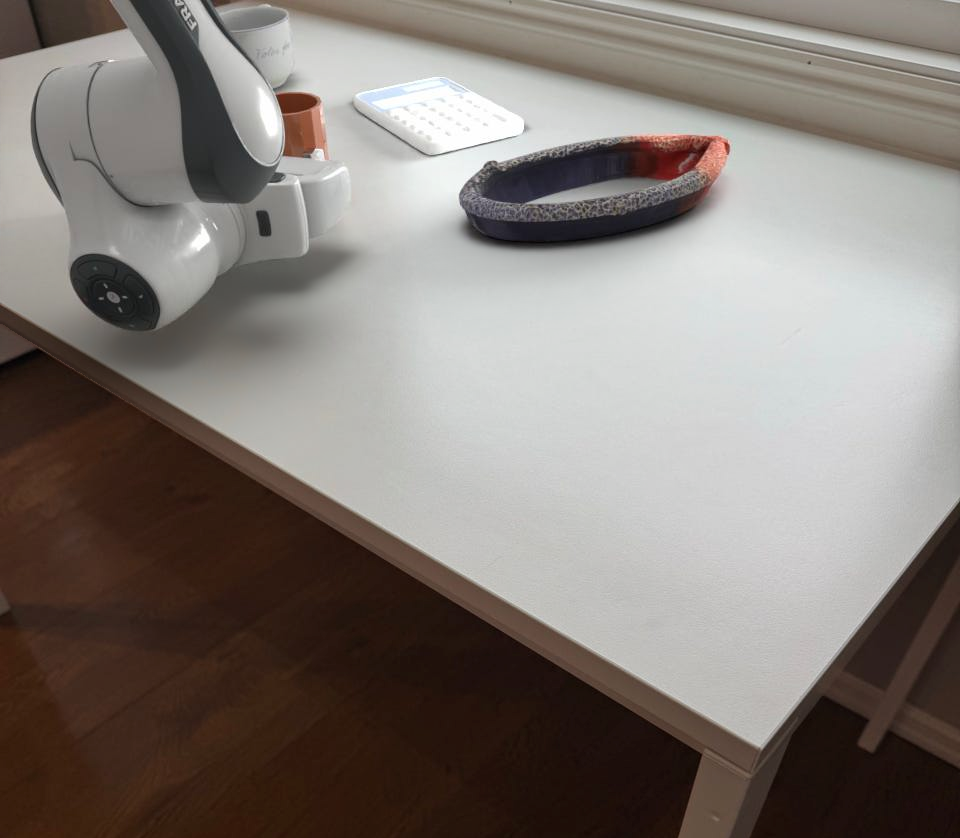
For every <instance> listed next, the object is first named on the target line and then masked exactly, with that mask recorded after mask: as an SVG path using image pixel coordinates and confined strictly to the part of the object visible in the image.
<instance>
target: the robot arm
mask: <svg viewBox="0 0 960 838" xmlns="http://www.w3.org/2000/svg"><path fill="white" fill-rule="evenodd" d="M109 2H110V3H111V5H112V6H113V7H114V9H115V11H116V12H117V13H118V15H119V16H120V18H121V20H122V21H123V23H124V24H125V25H126V27H127V28H128V30H129V31H130V32H131V34H132V36H133V37H134V38H135V40H136V42H137V44H138V45H139V46H140V48H141V49H142V51H143V52H144V54H145V56H138V57H130V58H124V59H108V60H101V61H95V62H87V63H81V64H75V65H71V66H67V67H57V68H54V69H52V70H50V71H49V72H48V73H47V74H46V75H45V76H44V77H43V79H42V80H41V82H40V84H39V85H38V86H37V90H36V92H35V95H34V97H33V101H32V105H31V112H30V139H31V146H32V150H33V153H34V156H35V159H36V161H37V164H38V166H39V168H40V172H41V173H42V175H43V178H44V180H45V182H46V183H47V185H48V186H49V188H50V191H51V192H52V194H53V195H54V196H55V198H56V199H57V200H58V202H59V204H60V205H61V206H62V209H64V212H65V216H66V217H65V218H66V220H67V224H68V231H69V251H68V252H69V253H68V260H67V272H68V273H67V274H68V276H69V277H68V278H69V282H70V285H71V286H72V289H73V290H74V292H75V295H76V296H77V297H78V299H79V300H80V302H81V303H82V305H84V306H85V307H86V309H88V310H89V311H90V312H91V313H92V314H93V315H95V317H97V318H99V319H101V320H102V321H103V322H105V323H107V324H109V325H111V326H113V327H116V328H118V329H121V330H124V331H128V332H129V331H130V332H137V333H138V332H140V333H146V332H147V333H148V332H153V331H157V330H160V329H161V328H163V327H166V326H167V325H169V324H171V323H172V322H174V321H176V320H177V319H179V318H180V317H182V316H183V315H184V314H185V313H187V312H188V311H189V310H190V309H191V308H192V307H194V306H195V305H196V304H197V303H198V302H199V301H200V300H201V299H202V298H203V297H204V296H205V295H206V294H207V293H208V292H209V291H210V290H211V288H212V287H213V285H214V283H215V282H216V279H217V277H221V275H223V274H225V273H226V272H227V271H229V270H230V269H231V268H232V267H242V266H245V265H247V264H253V263H256V262H261V261H269V260H272V261H273V260H280V259H296V258H300V257H303V256H305V255H306V254H307V253H308V251H309V249H310V239H314V238H317V237H319V236H321V235H323V234H324V233H326V232H327V231H328V230H330V228H332V226H334V225H335V224H336V223H337V222H338V221H339V220H340V219H341V217H343V215H344V214H345V212H347V210H348V209H349V207H350V205H351V202H352V189H351V178H350V173H349V169H348V167H347V166H346V164H344V162H342V161H341V160H332V159H329V160H325V158H324V151H323V149H316V148H307V149H306V151H304V152H303V153H302V157H303V158H300V157H289V156H282V155H283V151H284V144H285V131H284V123H283V118H282V113H281V110H280V106H279V103H278V101H277V98H276V96H275V93H276V92H275V91H274V89H272V87H271V85H270V84H269V82H268V80H267V79H266V77H265V76H264V74H263V73H262V71H261V70H260V69H259V67H258V66H257V65H256V63H255V62H254V61H253V60H252V58H251V57H250V56H249V55H248V53H247V52H246V51H245V50H244V49H243V47H242V46H241V45H240V44H239V42H238V41H237V40H236V39H235V37H234V36H233V35H232V34H231V32H230V31H229V30H228V28H227V27H226V25H225V24H224V22H223V21H222V19H221V18H220V16H219V13H218V11H217V10H216V8H215V6H214V4H213V3H212V1H211V0H109Z"/></svg>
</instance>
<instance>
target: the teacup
mask: <svg viewBox="0 0 960 838" xmlns="http://www.w3.org/2000/svg"><path fill="white" fill-rule="evenodd" d="M218 14H219V16H220V18H221V19H222V21H223V22H224V24H225V25H226V27H227V28H228V30H229V31H230V32H231V34H232V35H233V36H234V37H235V39H236V40H237V41H238V42H239V44H240V45H241V46H242V47H243V49H244V50H245V51H246V52H247V53H248V55H249V56H250V57H251V58H252V60H253V61H254V62H255V63H256V65H257V66H258V67H259V69H260V70H261V71H262V73H263V74H264V76H265V77H266V79H267V80H268V82H269V84H270V85H271V87H272V89H273V90H274V89H277V88H279V87H281V86H282V85H284V84H285V82H286V81H287V78H288V77H289V76H290V75H291V73H292V72H293V71H294V67H295V63H296V57H295V54H296V53H295V46H294V39H293V35H292V30H291V23H290V12H289V11H288V10H286V9H285V8H281V7H278V6H271V5H270V4H269V3H261V4H259V5H258V6H257V5H256V6H249V7H240V8H234V9H233V8H232V9H230V10H228V11H227V10H225V11H222V12H220V13H218Z"/></svg>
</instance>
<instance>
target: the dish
mask: <svg viewBox="0 0 960 838" xmlns="http://www.w3.org/2000/svg"><path fill="white" fill-rule="evenodd" d="M730 152H731V142H730V141H729V139H727V138H724V137H723V136H721V135H720V134H718V135H706V134H705V135H703V134H702V135H701V134H679V133H677V134H675V133H674V134H673V133H670V134H669V133H667V134H662V133H661V134H633V135H622V136H613V137H612V136H611V137H605V138H595V139H591V140H584V141H579V142H574V143H569V144H564V145H559V146H555V147H554V146H553V147H551V148H546V149H543V150H542V149H541V150H538V151H534V152H531V153H527V154H524V155H521V156H517V157H513V158H511V159H507V160H503V161H500V162H498V161H497V160H494V159H493V160H488V161H485V163H484V164H483V166H482V168H481V169H479V170H478V171H477V172H475V173H474V175H472V176H471V177H470V178H469V179H468V180H467V181H466V182H465V183H464V184H463V186H462V188H461V189H460V191H459V193H458V200H459V205H460V207H461V208H462V209H463V210H464V213H465V215H466V218H467V220H468V221H469V223H470V224H471V225H472V226H473V227H475V228H476V230H478V231H479V232H480V233H482V234H483V235H486V236H487V237H491V238H494V239H498V240H504V241H515V242H535V243H538V242H539V243H540V242H541V243H544V242H545V243H547V242H566V241H577V240H585V239H593V238H600V237H606V236H610V235H616V234H621V233H624V232H628V231H629V232H630V231H633V230H637V229H640V228H643V227H644V228H645V227H647V226H651V225H654V224H657V223H661V222H663V221H666V220H669V219H671V218H673V217H676V216H679V215H680V214H683V213H685V212H687V211H689V210H691V209H693V208H694V207H695V206H696V205H698V204H699V203H700V202H701V201H703V199H704V197H705V196H707V194H708V192H709V191H710V189H711V188H712V186H713V184H714V183H715V181H716V180H717V179H718V178H719V176H720V174H721V173H722V171H723V169H724V167H725V166H726V163H727V160H728V156H729V155H730ZM625 178H642V179H643V178H644V179H651V180H659V181H665V182H662V183H660V184H659V183H658V184H656V185H653V186H649V187H646V188H642V189H638V190H633V191H629V192H625V193H620V194H615V195H614V194H613V195H609V196H603V197H597V198H591V199H582V200H575V201H574V200H573V201H564V202H563V201H562V202H549V203H546V202H545V203H530V202H533V201H537V200H539V199H542V198H545V197H548V196H551V195H555V194H558V193H562V192H565V191H566V192H567V191H570V190H575V189H577V188H578V189H579V188H582V187H587V186H590V185H595V184H599V183H603V182H607V181H612V180H618V179H619V180H620V179H625Z"/></svg>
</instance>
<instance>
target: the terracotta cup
mask: <svg viewBox="0 0 960 838" xmlns="http://www.w3.org/2000/svg"><path fill="white" fill-rule="evenodd" d="M274 93H275V96H276V98H277V101H278V103H279V106H280V110H281V113H282V118H283V123H284V131H285V144H284V151H283V155H282V156H289V157H300V158H303V157H302V153H303V152H304V151H306V149H307V148H316V149H323V151H324V158H325V160H330V156H329V149H328V140H327V132H326V123H325V116H324V108H323V101H322V100H321V98H320V96H318V95H315V94H313V93H310V92H304V91H282V92H274Z"/></svg>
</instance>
